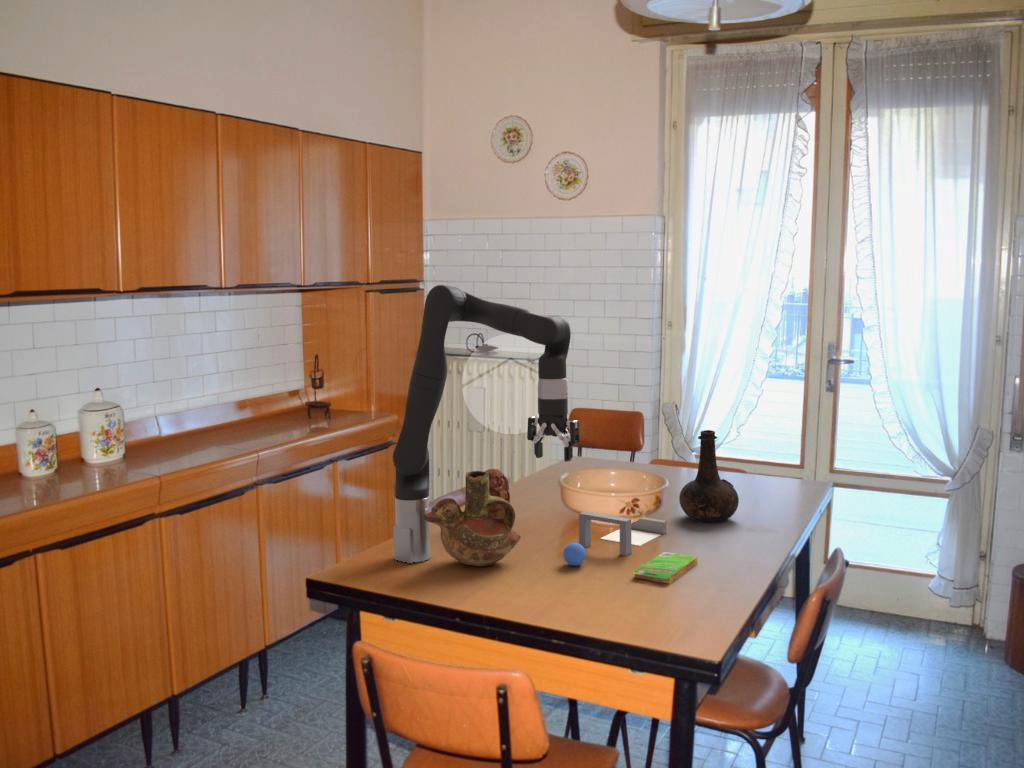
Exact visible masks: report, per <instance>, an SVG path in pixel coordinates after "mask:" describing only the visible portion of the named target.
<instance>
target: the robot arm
mask: <svg viewBox="0 0 1024 768" xmlns="http://www.w3.org/2000/svg"><path fill="white" fill-rule="evenodd" d="M449 322H450V323H452V322H453V323H454V322H465V323H466V322H467V323H476V324H481V325H485V326H487V327H489V328H491V329H493V330H496V331H499V332H502V333H505V334H509V335H513V336H516V337H522V338H523V339H524V338H525V339H526V340H528V341H530V342H533V343H535V344H538V345H544V350H543V351H544V352H543V353H542V354H541V355H540V357H539V358H538V364H537V368H538V371H537V372H538V373H537V375H538V377H537V378H538V379H537V381H538V382H537V413H538V417H537V415H536V416H535V415H533V416H530V417H528V418H527V431H526V432H527V433H526V438H527V440H528V441H531V442H532V443H533V446H534V447H533V450H534V451H533V453H534V456H535V458H536V459H540V458H543V455H544V450H543V449H544V448H543V445H544V443H543V442H542V441H543V440H544V439H545V437H550V436H552V437H558V439H559V440H561V442H562V443H563V444H564V446H563V455H564V456H563V459H564V462H567V463H568V462H570V461H572V459H573V457H574V455H573V453H574V452H573V447H574V445H575V446H576V445H578V444H580V443H581V438H580V436H581V435H580V422H579V420H577V419H575V420H568V413H569V410H568V408H569V406H568V405H569V404H568V402H569V401H568V399H569V395H568V393H569V392H568V391H569V390H568V388H569V387H568V382H567V381H568V380H567V357H568V355H569V349H570V343H571V334H572V333H571V327H570V323H569V322H568V320H567V319H566V318H565V317H563V316H562V315H552V316H545V315H539V314H535V313H534V312H532V311H531V310H528V309H526V308H521V307H518V306H513V305H509V304H503V303H498V302H493V301H488V300H484V299H482V298H479V297H477V296H476V295H475V296H474V295H472V294H470V293H468V292H466V291H464V290H462V289H460V288H458V287H455V286H450V285H443V284H441V285H440V284H437V285H435V286H433V287H432V288H431V289H430V290H429V291H428V293H427V295H426V298H425V300H424V306H423V316H422V322H421V330H420V337H419V342H418V345H417V351H416V355H415V360H414V363H413V369H412V371H411V376H410V379H409V385H408V390H407V394H406V395H407V396H406V403H405V411H404V419H403V423H402V426H401V430H400V433H399V436H398V438H397V439H398V440H397V441H396V445H395V447H394V450H393V453H392V463H393V465H394V467H395V481H394V507H395V509H394V510H395V511H394V513H395V525H394V526H393V528H392V530H393V560H394V559H395V560H394V561H397V560H398V561H397V562H401V561H402V562H403V563H405V562H407V563H406V564H410V563H411V564H414V563H413V562H415V563H422V562H425V560H426V561H428V560H430V558H431V529H430V528H431V527H430V526H431V525H430V523H431V522H427V521H426V520H425V517H424V515H425V514H427V513H429V512H430V452H429V447H428V443H429V437H430V434H431V433H430V432H431V427H432V424H433V422H434V419H435V416H436V414H437V411H438V410H439V406H440V403H441V401H442V397H443V393H444V390H445V385H446V381H447V376H448V362H447V356H446V348H445V339H446V334H447V329H448V326H449ZM538 425H539V428H538V427H537V426H538ZM537 428H538V431H537ZM567 428H568V429H569V431H568V429H567ZM421 561H422V562H421ZM402 562H401V563H402Z"/></svg>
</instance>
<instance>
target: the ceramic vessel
mask: <svg viewBox="0 0 1024 768" xmlns="http://www.w3.org/2000/svg"><path fill="white" fill-rule="evenodd" d="M464 478H465V503H464V504H465V505H464V510H462V508H461V506H460V505H459V504H458V502H457V501H456V500H455V499H454V498H453V497H452V498H451V497H446V498H442V499H440V500H439V501H437V502H436V504H435V505H434V506H432V507H431V510H430V511H429V513H427V514H425V515H424V517H425V520H426V521H427V522H430V523H431V524H434V525H437V526H439V527H440V541H441V543H442V546H443V548H444V550H445V552H446V553H447V554H448V555H449V556H451V557H452V558H453V559H454V560H455V561H456V562H457V561H458V562H459V563H461V564H464V565H468V566H474V567H486V566H490V565H493V564H496V563H497V562H499V561H501V560H503V559H504V557H506V556H507V555H508V554H509V553H510V552H511V551H512V550H513V549H514V548H515V547H516V545H517V544H518V543H519V541H520V539H521V534H519V533H518V532H516V531H515V530H513V527H514V524H515V521H516V511H515V509H514V507H513V505H512V504H511V502H510V503H509V502H508V501H506V500H505V499H503V498H500V497H496V496H490V494H489V473H488V472H485V471H481V470H472V471H467V472H466V474H465V477H464ZM493 504H499V505H501V506H502V507H503V508H504V510H505V516H504V517H503V518H497V517H494V516H493V515H491V513H490V507H491V505H493Z"/></svg>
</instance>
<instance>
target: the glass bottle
mask: <svg viewBox="0 0 1024 768" xmlns="http://www.w3.org/2000/svg"><path fill="white" fill-rule="evenodd" d="M717 438H718V436H716V431H714V430H710V429H706V430H705V429H704V430H701V431H700V435H699V436H698V437H697V440H700V444H699V445H700V447H699V461H698V469H697V474H696V477H695V478H694V480H691V481H688V482H687V483H686V484H685V485H684V486H683V487H682V488H681V491H680V493H679V499H678V500H679V505H680V507H681V510H682V511H683V512H684V513H685V515H686V516H687V517H689V518H690V519H691V520H693V521H696V522H699V523H700V522H701V523H704V524H706V523H707V524H715V523H722V522H725V521H727V520H728V519H730V518H731V517H733V515H735V513H736V511H737V510H738V506H739V494H738V492H737V490H736V489H735V487H734V485H733V484H732V483H731V482H729V481H728V480H726V479H724V478H722V479H721V477H720V474H719V471H718V466H717V465H718V464H717V455H716V439H717Z"/></svg>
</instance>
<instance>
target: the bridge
mask: <svg viewBox="0 0 1024 768" xmlns="http://www.w3.org/2000/svg"><path fill="white" fill-rule="evenodd" d="M592 521H597V522H602V523H609V524H613V525H618V526H619V529H620V542H619V556H624V557H627V556H628V555H631V554H632V545H631V530H632V529H631V519H629V518H624V517H622V516H616V515H609V514H604V513H598V512H591V511H585V510H584V511H582V512H580V513H578V525H579V526H578V536H579V537H578V544H580V545H582V546H583V547H584V549H587V548H589V547H590V546H592V544H591V543H592V539H591V538H592V530H591V529H592V528H591V527H592V524H591V522H592Z"/></svg>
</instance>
